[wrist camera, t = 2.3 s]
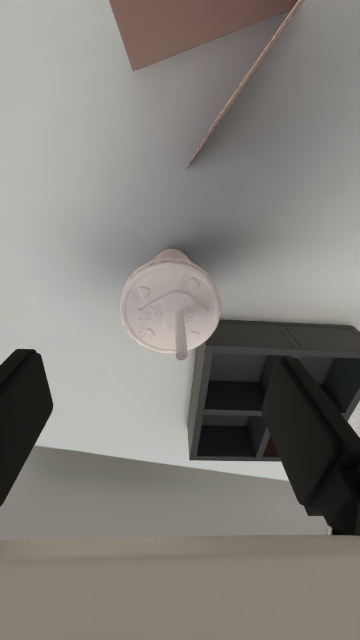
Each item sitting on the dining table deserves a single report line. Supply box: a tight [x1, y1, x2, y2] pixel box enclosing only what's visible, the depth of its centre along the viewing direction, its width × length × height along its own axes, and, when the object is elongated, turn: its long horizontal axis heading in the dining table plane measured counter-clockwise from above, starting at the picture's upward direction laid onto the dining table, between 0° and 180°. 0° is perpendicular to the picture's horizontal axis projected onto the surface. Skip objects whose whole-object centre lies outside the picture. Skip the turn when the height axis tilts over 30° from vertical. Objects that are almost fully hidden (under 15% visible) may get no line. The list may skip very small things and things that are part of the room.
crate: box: [187, 320, 360, 461], centre depth 28 cm, size 17×17×5 cm
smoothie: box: [119, 249, 221, 360], centre depth 17 cm, size 6×6×14 cm
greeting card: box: [109, 0, 304, 167], centre depth 11 cm, size 11×7×15 cm, turn 106°
